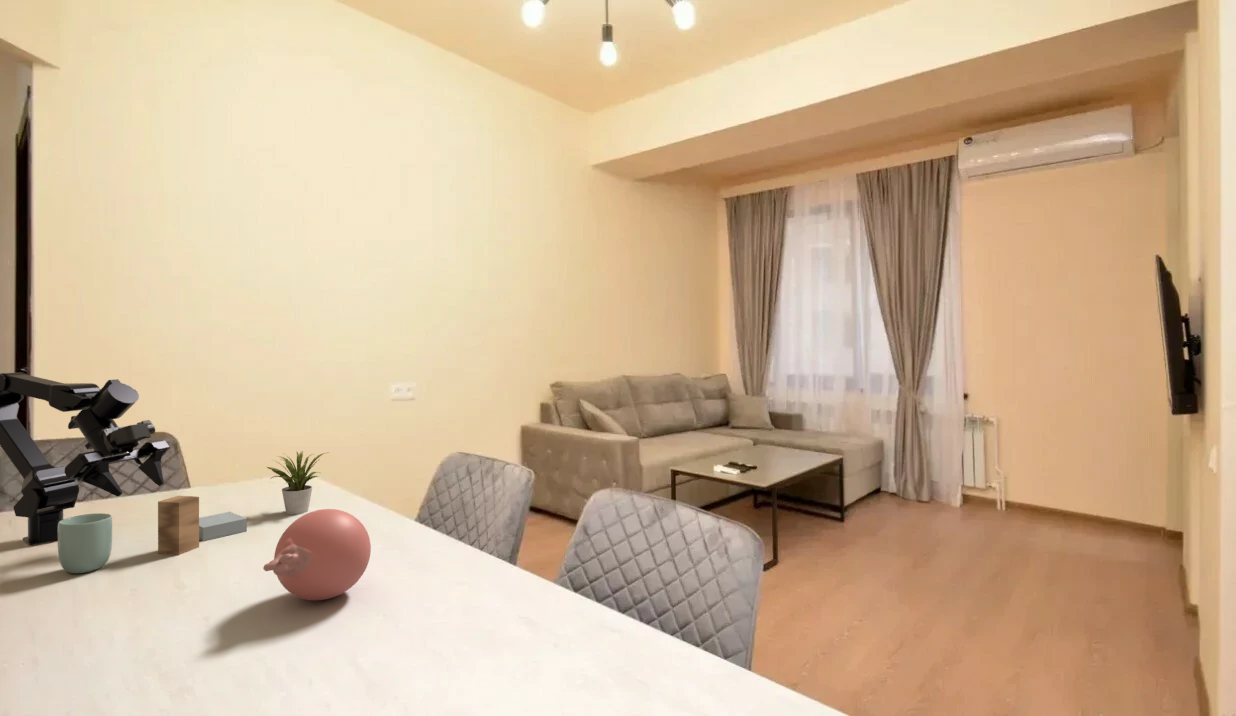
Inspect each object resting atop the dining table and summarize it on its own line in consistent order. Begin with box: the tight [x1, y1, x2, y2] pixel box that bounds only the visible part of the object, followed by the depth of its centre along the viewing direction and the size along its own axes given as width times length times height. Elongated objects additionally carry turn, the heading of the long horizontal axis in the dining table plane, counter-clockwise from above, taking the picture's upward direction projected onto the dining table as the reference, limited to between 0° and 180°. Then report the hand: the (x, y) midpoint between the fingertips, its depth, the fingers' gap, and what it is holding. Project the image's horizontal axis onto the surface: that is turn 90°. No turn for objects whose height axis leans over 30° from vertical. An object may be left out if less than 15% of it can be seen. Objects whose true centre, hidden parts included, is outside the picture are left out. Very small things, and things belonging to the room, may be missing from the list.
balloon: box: [262, 508, 372, 601], centre depth 105 cm, size 15×20×15 cm
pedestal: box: [199, 511, 248, 542], centre depth 141 cm, size 9×9×3 cm
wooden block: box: [157, 495, 200, 556], centre depth 128 cm, size 5×5×11 cm
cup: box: [57, 512, 113, 574], centre depth 117 cm, size 8×8×10 cm
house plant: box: [266, 450, 330, 515], centre depth 159 cm, size 14×14×16 cm
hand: (141, 489), depth 128 cm, fingers open, 9 cm apart
